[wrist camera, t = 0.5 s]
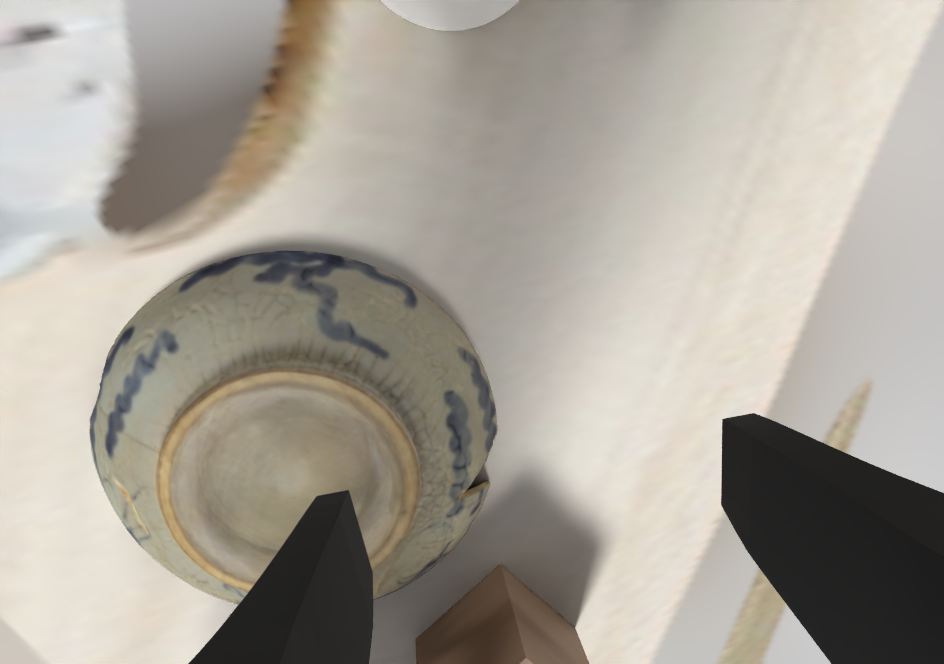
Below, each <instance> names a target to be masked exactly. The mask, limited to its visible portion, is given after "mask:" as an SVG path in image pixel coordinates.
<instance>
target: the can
mask: <svg viewBox="0 0 944 664" xmlns="http://www.w3.org/2000/svg"><path fill="white" fill-rule="evenodd" d="M380 1H381V2H382V3H383V4H384V5H386V6H387V7H388V8H389V9H390V10H392V11H393V12H394V13H396V14H397V15H399V16H400V17H402V18H404V19H406V20H408V21H410V22H412V23H414V24H417V25H419V26H422V27H426V28H430V29H435V30H442V31H460V30H467V29H472V28H476V27H479V26H482V25H485V24H487V23H489V22H491V21H493V20H495V19H497V18H498V17H500V16H502V15H503V14H504V13H506V12H507V11H508V10H510V9H511V8H512V7H513V6H514V5H515V4H516V3H517V2H518V1H519V0H380Z"/></svg>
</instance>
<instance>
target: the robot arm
mask: <svg viewBox="0 0 944 664" xmlns="http://www.w3.org/2000/svg"><path fill="white" fill-rule="evenodd" d="M721 505H722V507H723V509H724V511H725V513H726V514H727V516H728V518H729V520H730V522H731V524H732V525H733V527H734V529H735V531H736V532H737V534H738V536H739V538H740V539H741V541H742V543H743V544H744V546H745V548H746V550H747V551H748V553H749V554H750V555H751V557H752V558H753V560H754V561H755V562H756V564H757V565H758V566H759V568H760V569H761V571H762V572H763V573H764V575H765V576H766V577H767V579H768V580H769V581H770V583H771V584H772V585H773V587H774V588H775V589H776V591H777V592H778V593H779V595H780V596H781V597H782V599H783V600H784V601H785V603H786V604H787V605H788V607H789V608H790V609H791V610H792V612H793V613H794V615H795V616H796V617H797V619H798V620H799V621H800V622H801V624H802V625H803V626H804V628H805V629H806V630H807V632H808V633H809V634H810V636H811V637H812V638H813V640H814V641H815V642H816V644H817V645H818V646H819V648H820V649H821V650H822V652H823V653H824V654H825V656H826V657H827V658H828V659H829V661H830V662H831V664H944V493H942V492H939V491H937V490H934V489H931V488H929V487H926V486H924V485H921V484H919V483H916V482H914V481H911V480H908V479H906V478H903V477H901V476H898V475H896V474H893V473H891V472H888V471H886V470H884V469H881V468H879V467H876V466H874V465H872V464H869V463H867V462H865V461H862V460H860V459H858V458H855V457H853V456H851V455H849V454H846V453H844V452H842V451H840V450H837V449H835V448H833V447H831V446H828V445H826V444H824V443H822V442H819V441H817V440H815V439H813V438H811V437H808V436H806V435H804V434H802V433H800V432H797V431H795V430H793V429H790V428H788V427H786V426H784V425H781V424H779V423H777V422H775V421H772V420H770V419H767V418H765V417H762V416H760V415H757V414H754V413H752V414H747V415H742V416H736V417H731V418H726V419H723V422H722V496H721ZM372 629H373V571H372V568H371V564H370V561H369V558H368V554H367V551H366V547H365V544H364V540H363V537H362V533H361V530H360V527H359V523H358V520H357V516H356V513H355V509H354V506H353V502H352V499H351V496H350V492H349V490H345V491H340V492H335V493H330V494H324V495H319V496H316V498H315V499H314V500H313V502H312V503H311V504H310V506H309V507H308V509H307V510H306V512H305V513H304V514H303V516H302V517H301V519H300V520H299V522H298V523H297V525H296V526H295V528H294V529H293V531H292V532H291V534H290V535H289V536H288V538H287V539H286V541H285V542H284V544H283V545H282V547H281V548H280V550H279V551H278V552H277V554H276V555H275V557H274V558H273V559H272V561H271V562H270V564H269V565H268V566H267V568H266V569H265V570H264V572H263V573H262V575H261V576H260V577H259V579H258V580H257V582H256V583H255V584H254V586H253V587H252V588H251V590H250V591H249V592H248V594H247V595H246V596H245V597H244V599H243V600H242V601H241V602H240V604H239V605H238V606H237V607H236V609H235V610H234V611H233V612H232V614H231V615H230V616H229V618H228V619H227V620H226V621H225V623H224V624H223V625H222V626H221V628H220V629H219V630H218V631H217V632H216V633H215V635H214V636H213V637H212V638H211V639H210V640H209V642H208V643H207V644H206V645H205V646H204V647H203V648H202V650H201V651H200V652H199V653H198V654H197V655H196V656H195V657H194V658H193V659H192V661H191V662H190V663H189V664H369V656H370V648H371V639H372Z"/></svg>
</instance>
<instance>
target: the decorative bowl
mask: <svg viewBox="0 0 944 664" xmlns="http://www.w3.org/2000/svg"><path fill="white" fill-rule="evenodd" d="M103 371H104V372H103V374H102V380H101V383H100V391H99V395H98V398H97V399H98V400H97V402H96V405H95V408H94V410H93V413H92V416H91V418H90V442H91V451H92V455H93V460H94V464H95V467H96V470H97V473H98V476H99V479H100V481H101V484H102V486H103V488H104V491H105V493H106V495H107V497H108V499H109V501H110V503H111V505H112V507H113V508H114V510H115V512H116V514H117V515H118V517H119V518H120V520H121V521H122V523H123V524H124V526H125V527H126V529H127V530H128V531H129V533H130V534H131V535H132V537H133V538H134V539H135V540H136V541H137V542H138V544H139V545H140V546H141V547H142V548H143V549H144V550H145V551H146V552H147V553H148V554H149V555H150V556H151V557H153V558H154V559H155V560H156V561H157V562H158V563H160V564H161V565H162V566H163V567H164V568H166V569H167V570H168V571H170V572H171V573H173V574H174V575H176V576H177V577H179V578H180V579H182V580H183V581H185V582H187V583H188V584H190V585H191V586H193V587H195V588H197V589H199V590H201V591H203V592H205V593H207V594H209V595H212V596H214V597H217V598H219V599H222V600H225V601H228V602H231V603H234V604H237V605H239V604H240V602H241V601H242V600H243V599H244V597H245V596H246V595H247V594H248V592H249V591H250V590H251V588H252V587H253V586H254V584H255V583H256V582H257V580H258V579H259V577H260V576H261V575H262V573H263V572H264V570H265V569H266V568H267V566H268V565H269V564H270V562H271V561H272V559H273V558H274V557H275V555H276V554H277V552H278V551H279V550H280V548H281V547H282V545H283V544H284V542H285V541H286V539H287V538H288V536H289V535H290V534H291V532H292V531H293V529H294V528H295V526H296V525H297V523H298V522H299V520H300V519H301V517H302V516H303V514H304V513H305V512H306V510H307V509H308V507H309V506H310V504H311V503H312V502H313V500H314V499H315V498H316V496H319V495H324V494H330V493H335V492H340V491H345V490H349V492H350V496H351V499H352V502H353V506H354V509H355V513H356V516H357V520H358V523H359V527H360V530H361V533H362V537H363V540H364V544H365V547H366V551H367V554H368V558H369V561H370V564H371V568H372V571H373V600H374V599H378V598H380V597H383V596H385V595H387V594H390V593H392V592H394V591H396V590H398V589H401V588H403V587H404V586H406V585H407V584H409V583H411V582H413V581H414V580H416V579H417V578H419V577H420V576H422V575H423V574H425V573H426V572H427V571H428V570H430V569H431V568H432V567H433V566H435V565H436V564H437V563H438V562H439V561H441V560H442V559H443V558H444V557H445V556H446V555H447V554H448V553H449V552H450V551H451V550H452V549H453V548H454V547H455V546H456V544H457V543H458V542H459V541H460V540H461V538H462V537H463V536H464V535H465V533H466V532H467V530H468V529H469V525H470V523H471V522H472V521H473V519H474V518H475V517H476V516H477V514H478V512H479V510H480V508H481V506H482V504H483V501H484V499H485V497H486V494H487V491H488V489H489V486H490V482H489V481H485V482H483V483H482V484H480V485H478V486H476V487H473V488H471V489H469V490H467V489H468V488H469V486H470V485H471V484H472V482H473V481H474V479H475V478H476V476H477V475H478V474H479V472H480V470H481V469H482V467H483V466H484V463H485V462H486V460H487V457H488V454H489V451H490V449H491V447H492V445H493V440H494V438H495V436H496V434H497V418H496V409H495V404H494V399H493V394H492V391H491V387H490V383H489V380H488V377H487V375H486V372H485V370H484V367H483V365H482V363H481V361H480V359H479V357H478V355H477V353H476V351H475V350H474V348H473V346H472V345H471V343H470V341H469V340H468V338H467V337H466V336H465V334H464V333H463V331H462V330H461V329H460V328H459V326H458V325H457V324H456V323H455V322H454V320H453V319H452V318H451V317H450V316H449V315H448V314H447V313H446V312H445V311H444V310H443V309H442V308H441V307H439V306H438V305H437V304H436V303H435V302H434V301H433V300H431V299H430V298H429V297H428V296H426V295H425V294H424V293H422V292H421V291H420V290H418V289H416V288H415V287H413V286H412V285H410V284H409V283H407V282H405V281H403V280H402V279H400V278H398V277H396V276H394V275H392V274H390V273H387V272H385V271H383V270H381V269H378V268H376V267H373V266H370V265H368V264H365V263H362V262H359V261H355V260H352V259H348V258H344V257H341V256H336V255H330V254H324V253H316V252H306V251H276V252H265V253H258V254H251V255H245V256H240V257H235V258H231V259H228V260H225V261H221V262H218V263H215V264H212V265H209V266H207V267H205V268H202V269H200V270H198V271H195V272H193V273H191V274H189V275H187V276H185V277H183V278H180V279H178V280H177V281H175V282H174V283H173V284H171V285H170V286H168V287H167V288H165V289H164V290H163V291H161V292H160V293H158V294H157V295H156V296H154V297H153V298H152V299H151V300H150V301H149V302H148V303H146V304H145V305H144V306H143V307H142V308H141V309H140V310H139V311H138V312H137V313H136V314H135V315H134V316H133V318H132V319H131V320H130V321H129V322H128V323H127V325H126V326H125V327H124V328H123V330H122V331H121V332H120V334H119V335H118V337H117V338H116V340H115V343H114V345H113V346H112V348H111V349H110V352H109V354H108V357H107V359H106V363H105V367H104V370H103ZM466 490H467V491H466Z"/></svg>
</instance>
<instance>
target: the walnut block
mask: <svg viewBox="0 0 944 664" xmlns="http://www.w3.org/2000/svg"><path fill="white" fill-rule="evenodd" d="M415 640H416V659H417V664H589V662H588V659H587V657H586V654H585V652H584V649H583V647H582V644H581V642H580V639H579V637H578V634H577V632H576V629H575V628H574V627H573V626H572V625H571V624H570V623H569V622H567V621H566V620H565V619H564V618H563V617H562V616H560V615H559V614H558V613H557V612H556V611H555V610H553V609H552V608H551V607H550V606H549V605H548V604H546V603H545V602H544V601H543V600H542V599H541V598H539V597H538V596H537V595H536V594H535V593H534V592H532V591H531V590H530V589H529V588H528V587H527V586H525V585H524V584H523V583H522V582H521V581H520V580H518V579H517V578H516V577H515V576H514V575H513V574H511V573H510V572H509V571H508V570H507V569H506V568H504V567H503V566H502V565H501V564H500V565H499V566H498V567H497V568H496V569H495V570H493V571H492V572H491V573H490V574H489V575H488V576H487V577H485V578H484V579H483V580H482V581H481V582H480V583H479V584H478V585H476V586H475V587H474V588H473V589H472V590H471V591H470V592H468V593H467V594H466V595H465V596H464V597H463V598H462V599H461V600H459V601H458V602H457V603H456V604H455V605H454V606H453V607H452V608H450V609H449V610H448V611H447V612H446V613H445V614H444V615H442V616H441V617H440V618H439V619H438V620H437V621H436V622H435V623H433V624H432V625H431V626H430V627H429V628H428V629H427V630H425V631H424V632H423V633H422V634H421V635H420V636H419V637H418V638H416V639H415Z"/></svg>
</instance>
